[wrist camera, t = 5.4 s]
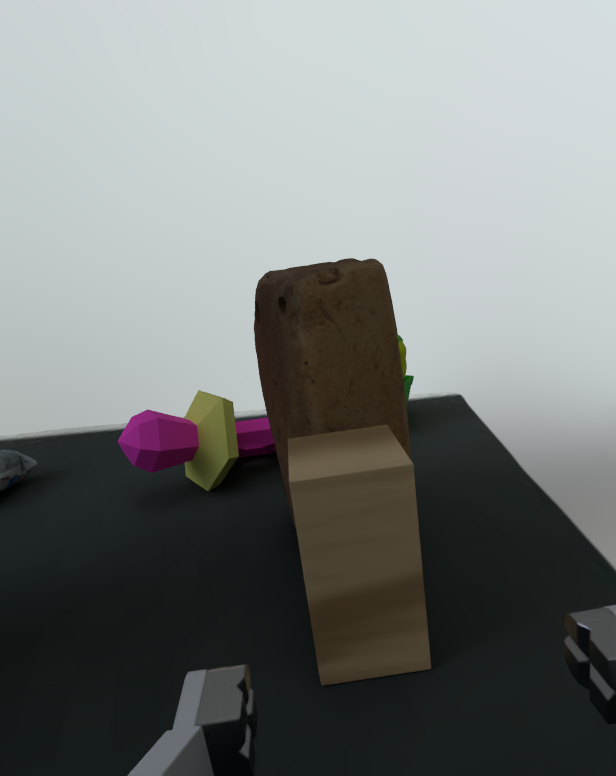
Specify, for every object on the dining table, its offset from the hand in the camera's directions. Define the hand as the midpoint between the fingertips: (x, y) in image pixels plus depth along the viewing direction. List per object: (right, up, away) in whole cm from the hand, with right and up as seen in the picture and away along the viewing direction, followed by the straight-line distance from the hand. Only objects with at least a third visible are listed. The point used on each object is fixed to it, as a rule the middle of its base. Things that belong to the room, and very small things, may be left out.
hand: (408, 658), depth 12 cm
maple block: (+1, -7, +14) cm, 16 cm away
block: (0, -4, +24) cm, 25 cm away
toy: (-12, -3, +38) cm, 40 cm away
